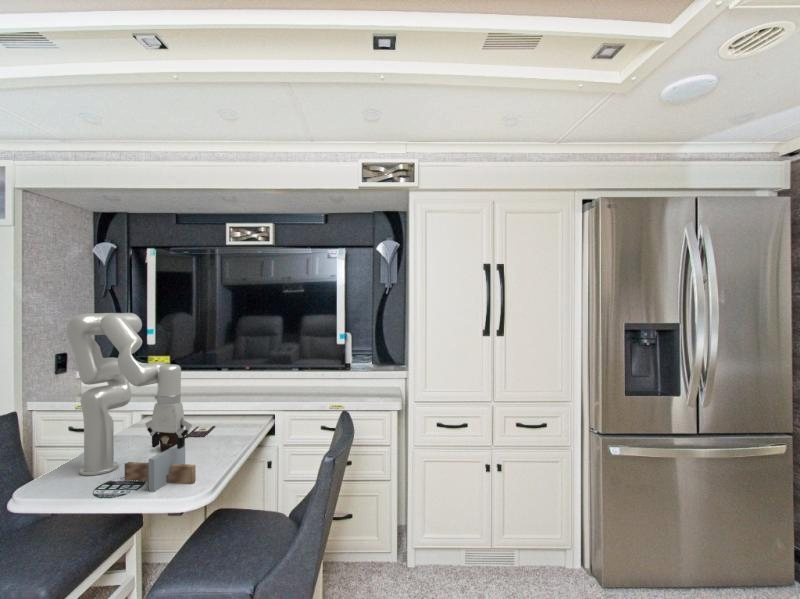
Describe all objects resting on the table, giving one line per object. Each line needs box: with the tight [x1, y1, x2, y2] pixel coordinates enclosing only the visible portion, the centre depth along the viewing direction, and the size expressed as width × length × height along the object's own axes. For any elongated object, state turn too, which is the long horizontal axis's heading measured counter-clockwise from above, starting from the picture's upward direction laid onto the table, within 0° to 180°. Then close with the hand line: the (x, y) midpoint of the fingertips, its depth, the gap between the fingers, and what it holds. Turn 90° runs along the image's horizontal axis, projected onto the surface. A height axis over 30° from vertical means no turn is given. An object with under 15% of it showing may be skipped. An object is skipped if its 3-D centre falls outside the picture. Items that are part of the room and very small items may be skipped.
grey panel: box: [148, 444, 186, 493], centre depth 166 cm, size 18×2×11 cm, turn 173°
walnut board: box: [124, 461, 197, 485], centre depth 166 cm, size 26×2×6 cm, turn 83°
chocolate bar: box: [185, 425, 216, 439], centre depth 229 cm, size 9×1×18 cm
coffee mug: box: [158, 432, 189, 453], centre depth 200 cm, size 12×9×10 cm
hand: (168, 446), depth 167 cm, fingers open, 9 cm apart
